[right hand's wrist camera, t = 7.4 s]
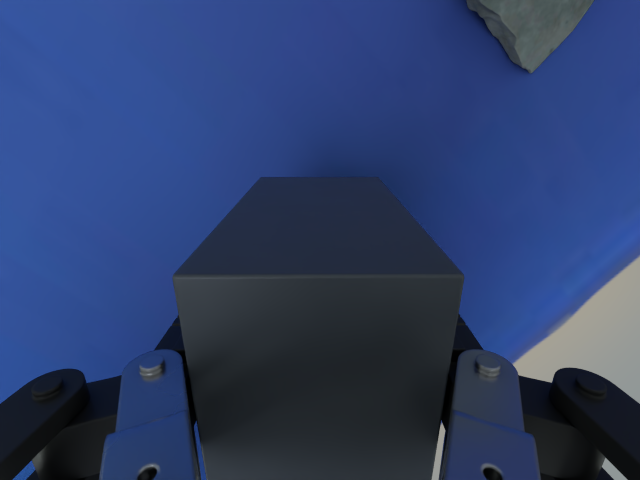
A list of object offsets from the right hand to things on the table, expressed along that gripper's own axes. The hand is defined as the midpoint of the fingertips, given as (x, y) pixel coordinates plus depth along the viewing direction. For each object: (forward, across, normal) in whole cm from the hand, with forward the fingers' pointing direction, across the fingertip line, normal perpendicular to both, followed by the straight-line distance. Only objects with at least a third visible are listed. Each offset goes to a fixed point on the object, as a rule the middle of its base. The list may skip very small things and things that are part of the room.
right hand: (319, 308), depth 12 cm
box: (+6, 0, -8) cm, 10 cm away
